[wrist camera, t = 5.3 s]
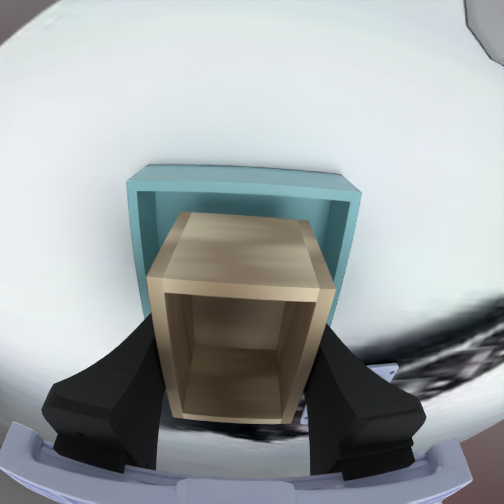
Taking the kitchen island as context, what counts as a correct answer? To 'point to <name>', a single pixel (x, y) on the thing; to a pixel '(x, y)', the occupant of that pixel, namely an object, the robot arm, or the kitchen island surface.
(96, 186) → the kitchen island surface
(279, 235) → the birch crate
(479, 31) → the flask
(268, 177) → the teal crate
